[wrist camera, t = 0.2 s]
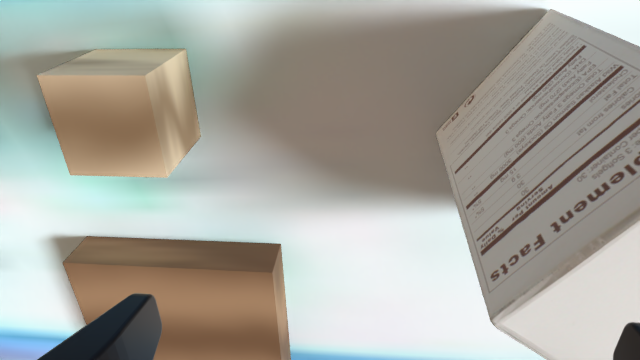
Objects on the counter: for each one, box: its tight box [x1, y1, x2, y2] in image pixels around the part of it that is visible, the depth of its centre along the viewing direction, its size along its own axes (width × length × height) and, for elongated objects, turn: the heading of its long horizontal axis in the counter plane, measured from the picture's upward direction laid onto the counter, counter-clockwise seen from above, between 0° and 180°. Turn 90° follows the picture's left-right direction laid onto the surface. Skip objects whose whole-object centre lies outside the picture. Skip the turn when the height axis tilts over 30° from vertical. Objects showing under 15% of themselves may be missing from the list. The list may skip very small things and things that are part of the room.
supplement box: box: [436, 9, 640, 360], centre depth 16 cm, size 7×7×13 cm
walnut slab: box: [63, 236, 291, 360], centre depth 29 cm, size 12×12×3 cm
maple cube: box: [37, 49, 201, 178], centre depth 21 cm, size 4×4×4 cm
